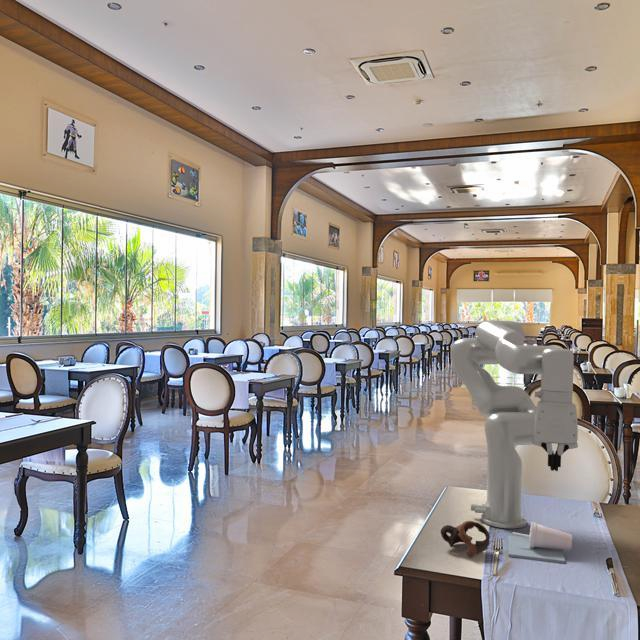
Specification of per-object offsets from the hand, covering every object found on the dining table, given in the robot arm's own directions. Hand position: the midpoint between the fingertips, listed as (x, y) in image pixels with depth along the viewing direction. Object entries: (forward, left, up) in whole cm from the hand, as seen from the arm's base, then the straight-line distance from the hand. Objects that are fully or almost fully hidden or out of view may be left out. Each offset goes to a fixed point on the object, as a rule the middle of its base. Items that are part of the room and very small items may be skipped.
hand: (554, 469), depth 154 cm
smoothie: (+5, -1, -18) cm, 18 cm away
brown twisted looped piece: (-21, -7, -21) cm, 31 cm away
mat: (-4, 0, -21) cm, 21 cm away
